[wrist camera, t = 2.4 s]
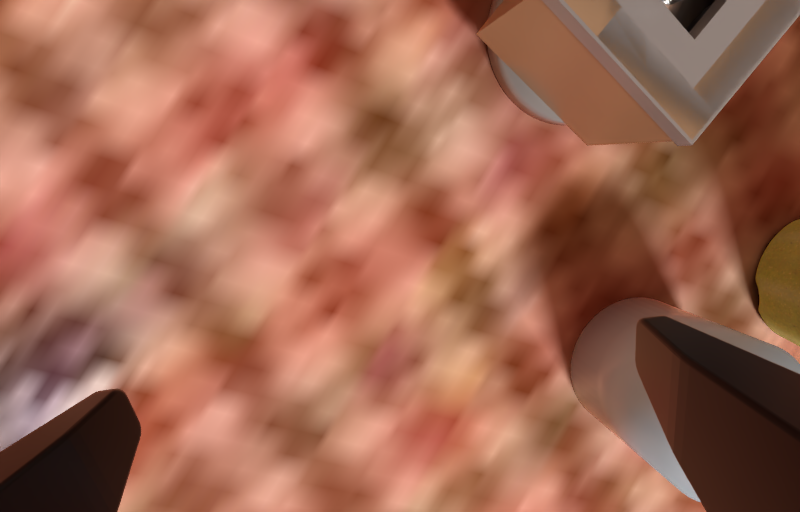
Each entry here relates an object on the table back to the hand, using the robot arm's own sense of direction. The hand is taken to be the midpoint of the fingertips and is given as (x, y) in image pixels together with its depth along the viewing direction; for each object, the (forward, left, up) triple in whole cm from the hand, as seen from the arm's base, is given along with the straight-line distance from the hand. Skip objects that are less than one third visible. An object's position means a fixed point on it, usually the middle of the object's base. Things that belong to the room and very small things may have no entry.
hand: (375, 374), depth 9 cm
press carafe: (+9, -9, -12) cm, 17 cm away
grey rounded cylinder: (-6, -13, -12) cm, 19 cm away
